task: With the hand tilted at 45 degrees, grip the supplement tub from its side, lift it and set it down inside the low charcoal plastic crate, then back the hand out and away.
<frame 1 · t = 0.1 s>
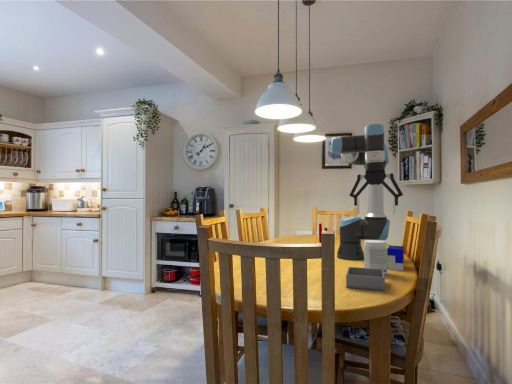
hand: (375, 213, 124), 28 cm above the table, tool pointing down, fingers open, 13 cm apart
crate: (365, 284, 120), on the table
puzzle toy: (392, 267, 150), on the table
supplement tub: (375, 273, 138), on the table
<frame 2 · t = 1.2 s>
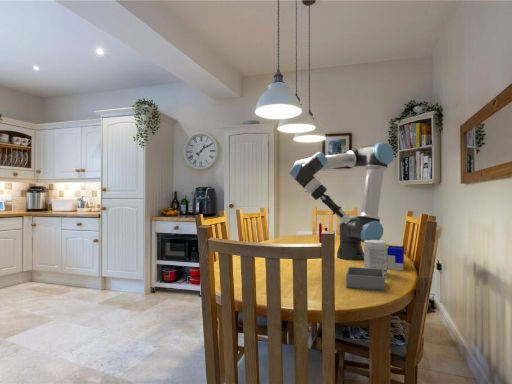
hand: (348, 221, 142), 24 cm above the table, tool tilted 45°, fingers open, 13 cm apart
nothing on the table moved.
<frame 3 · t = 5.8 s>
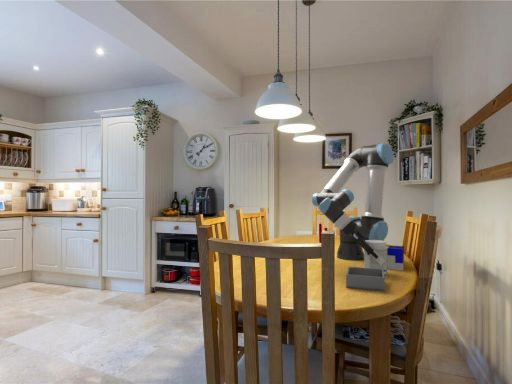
hand: (382, 260, 137), 6 cm above the table, tool tilted 45°, fingers closed on supplement tub, 9 cm apart
supplement tub: (375, 273, 138), on the table, touching gripper
everything else where it was.
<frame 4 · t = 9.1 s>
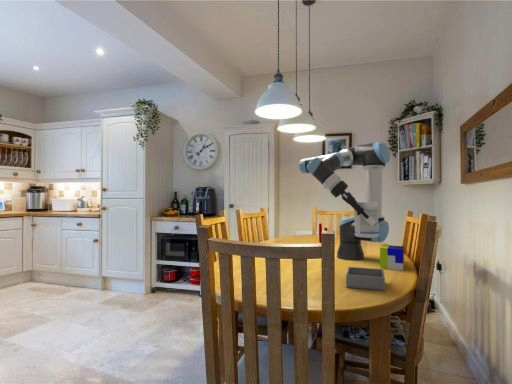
hand: (374, 223, 127), 24 cm above the table, tool tilted 45°, fingers closed on supplement tub, 9 cm apart
supplement tub: (366, 237, 128), point 18 cm above the table, touching gripper
everything else where it was.
when the fingers open (8 cm above the table, at t = 12.8 s): supplement tub drops 1 cm, resting on crate.
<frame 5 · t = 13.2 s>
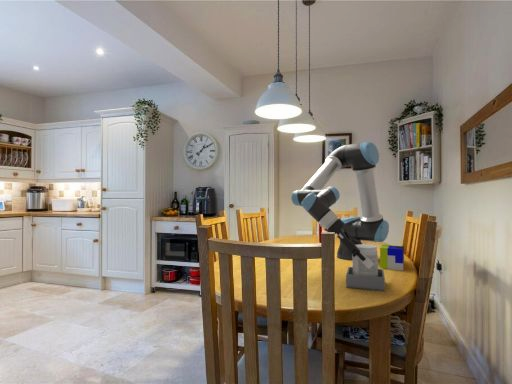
hand: (371, 262, 120), 9 cm above the table, tool tilted 45°, fingers open, 13 cm apart
supplement tub: (365, 283, 121), resting on crate
everything else where it was.
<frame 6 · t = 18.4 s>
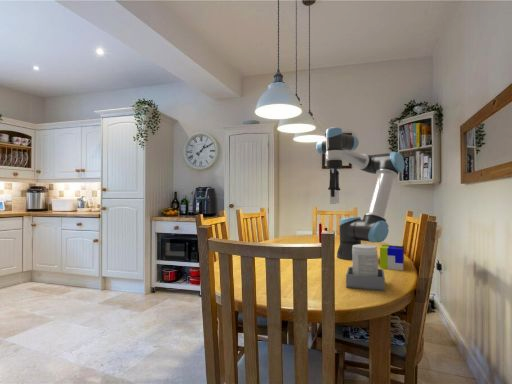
hand: (334, 203, 146), 32 cm above the table, tool pointing down, fingers open, 13 cm apart
nothing on the table moved.
at the end: supplement tub inside the target area on the crate (0.3 cm from its centre), point 0.4 cm above the crate's base; supplement tub tilted 0°; the gripper is holding nothing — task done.
